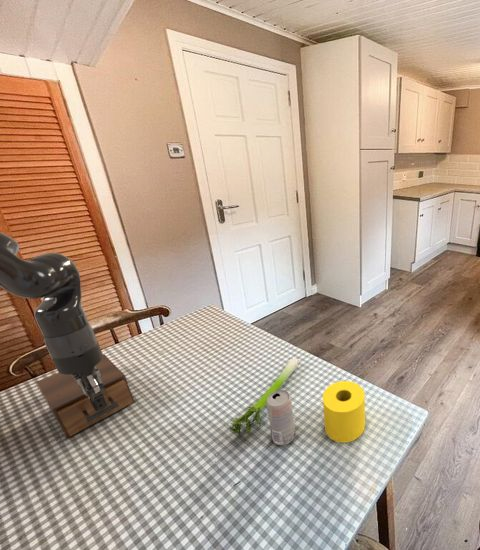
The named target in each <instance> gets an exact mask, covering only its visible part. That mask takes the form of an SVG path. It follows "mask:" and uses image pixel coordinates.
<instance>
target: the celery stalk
mask: <svg viewBox="0 0 480 550" xmlns="http://www.w3.org/2000/svg"><path fill="white" fill-rule="evenodd" d="M300 363H301V362H300V360H299V359H298V358H290V359H289V360H288V362H287V364H286V365H285V367H284V368H283V370H282V371H281V373H280V374H279V375H278V377H277V378H276V380H274V382H273V383H272V385H271V386H270V387H269V388H268V390H267V391H265V392H264V394H263V395H262V396H261V397H260V398H259V399H258V400H257V401H256V402H255V403H254V404H253V405H252V406H250V405H249V406H246V407H245V409H246V410H247V411H246V412H245V413H244V414H242V416H241V417H235V419H234V420H232V422H230V425H231V426H230V427H229V429H230V431H229V432H232V433H233V434H235V435H236V434H237V435H239V436H240V435H241V434H242V425H243V424H245V426H244V431H245V432H244V436H246V437H247V436H248V434H249V433H250V432H251V431H252V425H253V424H254V423H256V425H259V427H260V426H261V425H262V421H261V411H263V409H264V408H265V406H267V398H268V396H269V395H270V394H271V393H272V392H274V391H277V390H280V389H281V387H282V386H283V385H284V384H285V382H286V381H287V380H288V379H289V377H290V376H291V375H292V373H293V372H294V371H295V369H297V367H298V366H299V364H300ZM252 415H253V419H252V418H251V419H250V417H251V416H252Z"/></svg>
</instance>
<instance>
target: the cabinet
mask: <svg viewBox="0 0 480 550" xmlns="http://www.w3.org/2000/svg"><path fill="white" fill-rule="evenodd" d="M95 367H96V369H98V370H99V371H100V374H101V376H100V378H101V381H102V383H103V384H104V385H105V386H104V387H107V386H109V385H111V384H113V383H115V382H117V381H121V380H124V381H125V383H126V386H127V388H128V391H129V394H130V396H131V399H132V401H133V403H135V399H134V396H133V394H132V391H131V387H130V386H129V384H128V381H127V378H126V375H125V373H123V372H122V371H121V370H120V368H118V367H117V366H116V364H115V363H114V362H113V361H111V359H109V358H108V357H107V355H106V354H103V358H102V360H101V361H100V362H99V363H98V364H97V365H96V366H95ZM36 384H37V386H38V388H39V390H40V392H41V394H42V396H43V397H44V399H45V402H46V404H47V405H48V407H49V409H50V411H51V413H52V414H53V417H54V418H55V420H56V422H57V423H58V426H59V427H60V429H61V431H62V433H63V435H64V436H65V439H68V438H71V436H69V434H68V432H67V430H66V428H65V426H64V424H63V422H62V420H61V419H60V417H59V415H58V413H57V411H58V410H59V409H61V408H63V407H65V406H67V405H69V404H71V403H73V402H75V401H78V400H80V399H82V398H84V397H86V395H85V394H84V393H83V391H82V390H81V389H80V387H79V385H78V383H77V382H76V380H75V379H74V378H73V376H72V374H70V375H64V374H61V373H59V372H58V373H54V374H53V375H50V376H48V377H45V378H43V379H40V380H39V381H36ZM130 405H131V404H129V405H127V406H125V407H124V408H126V407H128V406H130ZM117 412H118V411H116V412H114V413H112V414H111V415H113V414H115V413H117ZM103 419H104V420H105V418H103ZM103 419H101V420H99V421H98V422H100V421H102V420H103ZM91 426H92V425H90V426H88V427H86V428H85V429H87V428H89V427H91ZM78 433H79V432H77V433H75V434H73V435H72V436H75V435H76V434H78Z"/></svg>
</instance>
